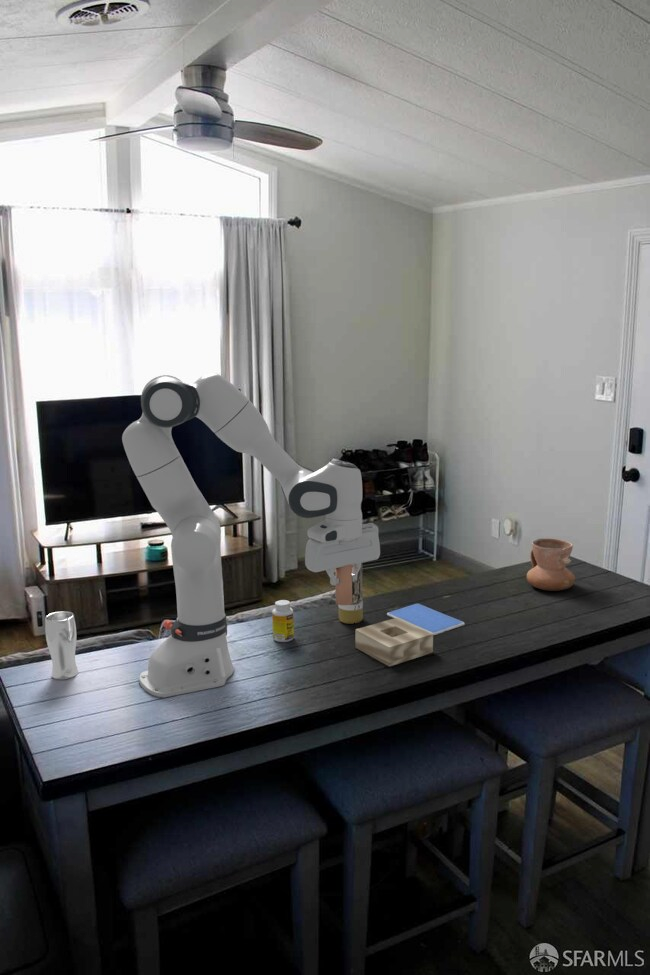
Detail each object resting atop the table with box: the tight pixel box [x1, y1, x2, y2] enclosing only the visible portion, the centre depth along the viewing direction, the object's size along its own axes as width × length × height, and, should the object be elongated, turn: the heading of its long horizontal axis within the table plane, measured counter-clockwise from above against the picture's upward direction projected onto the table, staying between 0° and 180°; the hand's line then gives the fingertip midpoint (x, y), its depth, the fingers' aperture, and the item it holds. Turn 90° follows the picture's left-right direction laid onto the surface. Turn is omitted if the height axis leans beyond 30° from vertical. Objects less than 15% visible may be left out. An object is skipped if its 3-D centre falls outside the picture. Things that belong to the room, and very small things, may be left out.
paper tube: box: [337, 563, 364, 625], centre depth 221 cm, size 7×7×25 cm
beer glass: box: [44, 610, 79, 681], centre depth 192 cm, size 7×7×15 cm
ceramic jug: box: [526, 537, 576, 592], centre depth 247 cm, size 18×14×14 cm
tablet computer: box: [386, 603, 466, 636], centre depth 223 cm, size 19×13×1 cm, turn 37°
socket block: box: [354, 617, 434, 667], centre depth 203 cm, size 14×14×5 cm
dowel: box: [334, 565, 352, 605], centre depth 195 cm, size 4×4×10 cm
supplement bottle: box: [271, 599, 295, 643], centre depth 211 cm, size 6×6×10 cm
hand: (343, 582), depth 195 cm, fingers closed on dowel, 4 cm apart
